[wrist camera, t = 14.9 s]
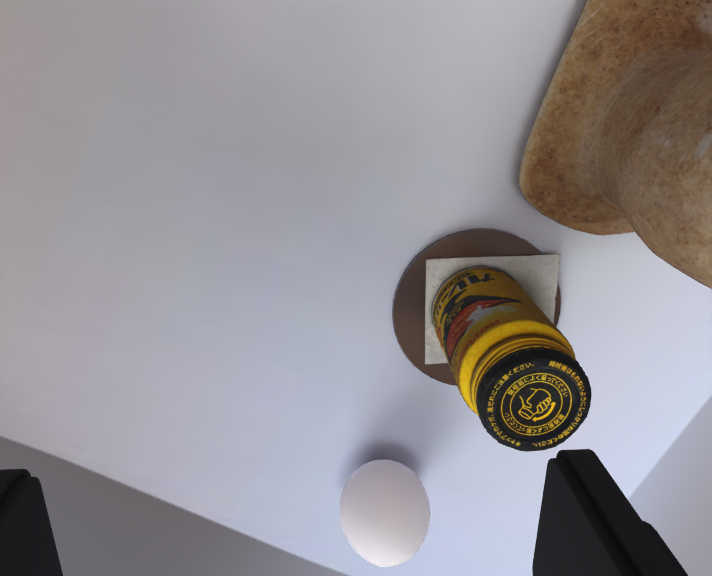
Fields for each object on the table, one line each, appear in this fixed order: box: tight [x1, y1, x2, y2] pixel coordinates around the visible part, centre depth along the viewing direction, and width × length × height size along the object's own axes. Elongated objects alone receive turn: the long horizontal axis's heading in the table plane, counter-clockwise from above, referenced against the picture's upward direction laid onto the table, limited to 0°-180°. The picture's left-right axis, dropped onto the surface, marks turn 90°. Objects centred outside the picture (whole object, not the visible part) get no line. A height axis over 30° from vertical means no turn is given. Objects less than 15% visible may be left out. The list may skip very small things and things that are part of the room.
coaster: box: [392, 229, 561, 386], centre depth 38 cm, size 11×11×1 cm
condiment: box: [425, 254, 591, 451], centre depth 32 cm, size 7×8×12 cm
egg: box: [340, 459, 430, 567], centre depth 39 cm, size 6×6×8 cm
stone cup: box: [518, 0, 712, 289], centre depth 27 cm, size 15×12×15 cm
